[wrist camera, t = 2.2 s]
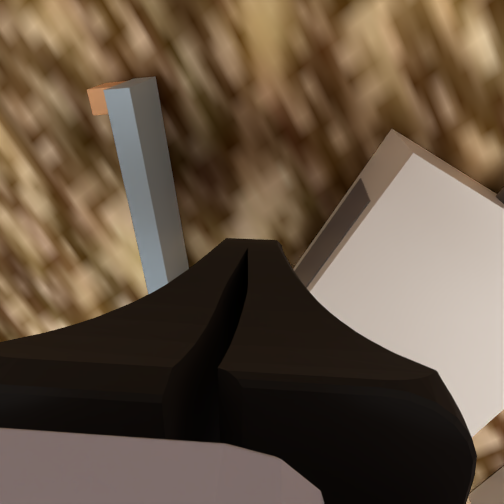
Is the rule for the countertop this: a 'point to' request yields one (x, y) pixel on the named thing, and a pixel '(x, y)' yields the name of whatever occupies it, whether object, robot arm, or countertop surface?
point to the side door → (145, 174)
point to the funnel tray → (490, 490)
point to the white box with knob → (420, 270)
